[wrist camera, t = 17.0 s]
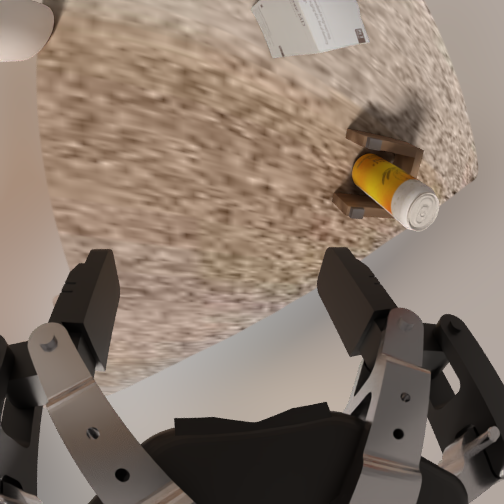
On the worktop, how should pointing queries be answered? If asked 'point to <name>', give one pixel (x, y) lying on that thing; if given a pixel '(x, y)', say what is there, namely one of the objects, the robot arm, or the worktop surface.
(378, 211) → the holder
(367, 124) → the worktop surface
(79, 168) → the worktop surface
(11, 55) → the alcohol
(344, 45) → the skincare box
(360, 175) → the beer can
